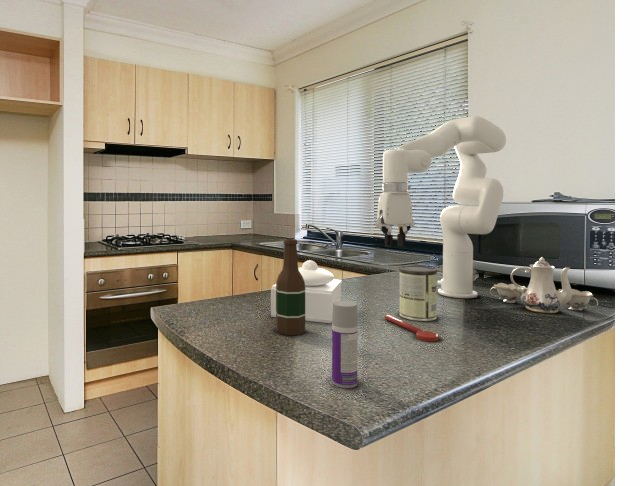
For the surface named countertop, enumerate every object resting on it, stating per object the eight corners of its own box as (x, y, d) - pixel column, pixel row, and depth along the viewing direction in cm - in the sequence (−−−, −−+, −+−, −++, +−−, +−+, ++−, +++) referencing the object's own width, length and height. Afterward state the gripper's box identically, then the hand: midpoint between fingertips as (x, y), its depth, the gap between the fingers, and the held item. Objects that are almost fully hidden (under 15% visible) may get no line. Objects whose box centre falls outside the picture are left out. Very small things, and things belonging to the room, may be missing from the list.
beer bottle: (308, 328, 116) (308, 238, 115) (302, 337, 108) (302, 241, 108) (279, 325, 118) (279, 237, 118) (272, 334, 111) (272, 240, 111)
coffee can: (400, 310, 134) (400, 264, 134) (437, 314, 130) (437, 266, 129) (397, 318, 125) (397, 269, 124) (436, 323, 120) (437, 272, 120)
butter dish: (270, 316, 127) (270, 262, 127) (287, 302, 144) (287, 254, 143) (331, 323, 120) (331, 266, 120) (341, 307, 137) (342, 257, 137)
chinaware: (591, 312, 137) (590, 259, 138) (605, 319, 123) (604, 260, 124) (489, 302, 150) (489, 253, 152) (491, 308, 136) (491, 254, 137)
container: (328, 378, 84) (328, 300, 84) (352, 377, 85) (352, 300, 84) (336, 388, 80) (336, 307, 79) (361, 387, 80) (361, 306, 80)
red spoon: (378, 319, 124) (378, 314, 124) (393, 318, 125) (393, 313, 125) (425, 342, 105) (425, 336, 105) (442, 340, 106) (443, 334, 106)
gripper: (410, 189, 143) (410, 244, 143) (365, 189, 139) (365, 246, 139) (425, 188, 136) (425, 247, 136) (378, 188, 131) (378, 249, 132)
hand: (395, 246), depth 137 cm, fingers open, 3 cm apart
